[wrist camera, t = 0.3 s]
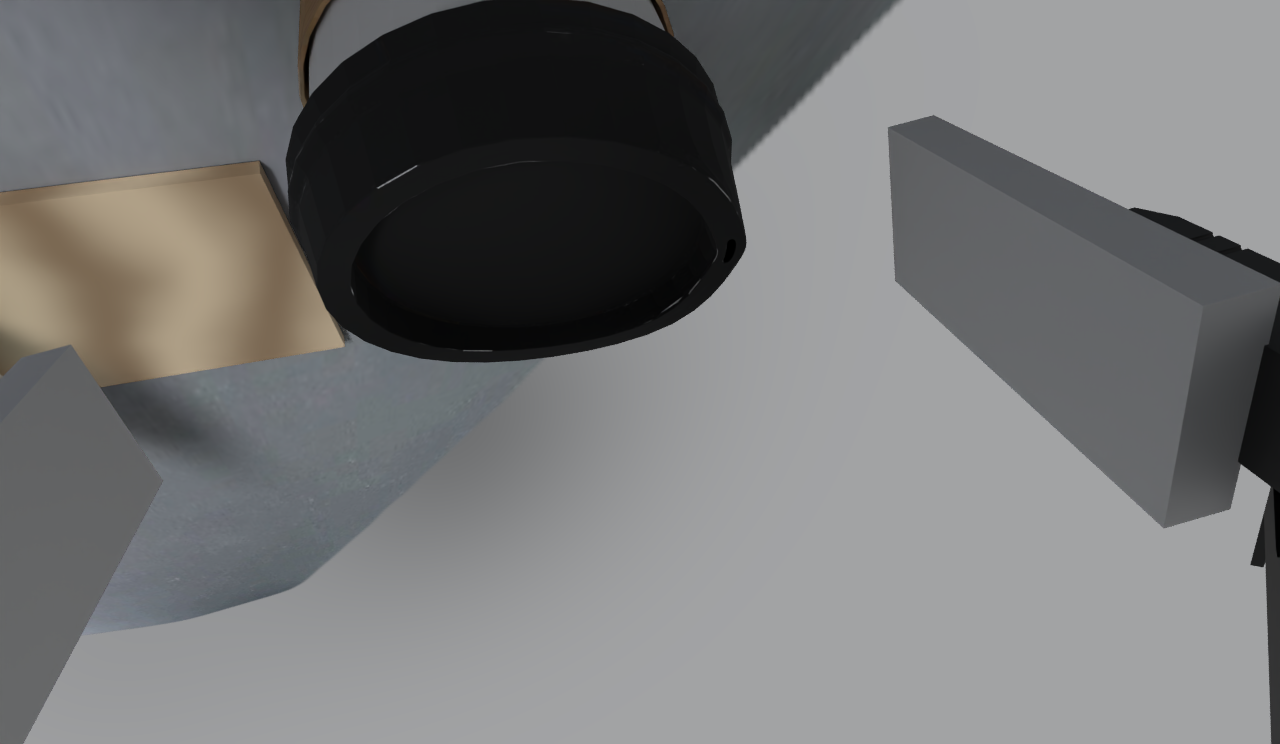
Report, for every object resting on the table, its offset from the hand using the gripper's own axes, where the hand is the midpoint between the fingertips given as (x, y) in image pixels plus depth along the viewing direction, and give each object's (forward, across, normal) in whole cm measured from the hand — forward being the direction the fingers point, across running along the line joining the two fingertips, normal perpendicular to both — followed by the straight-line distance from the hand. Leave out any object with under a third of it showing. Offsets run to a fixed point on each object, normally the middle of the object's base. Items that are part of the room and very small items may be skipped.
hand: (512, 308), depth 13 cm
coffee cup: (+14, +1, +8) cm, 16 cm away
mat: (+24, -19, -5) cm, 31 cm away
